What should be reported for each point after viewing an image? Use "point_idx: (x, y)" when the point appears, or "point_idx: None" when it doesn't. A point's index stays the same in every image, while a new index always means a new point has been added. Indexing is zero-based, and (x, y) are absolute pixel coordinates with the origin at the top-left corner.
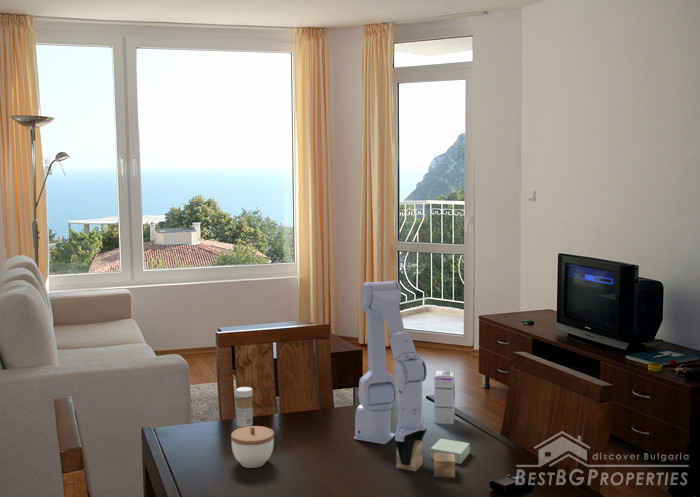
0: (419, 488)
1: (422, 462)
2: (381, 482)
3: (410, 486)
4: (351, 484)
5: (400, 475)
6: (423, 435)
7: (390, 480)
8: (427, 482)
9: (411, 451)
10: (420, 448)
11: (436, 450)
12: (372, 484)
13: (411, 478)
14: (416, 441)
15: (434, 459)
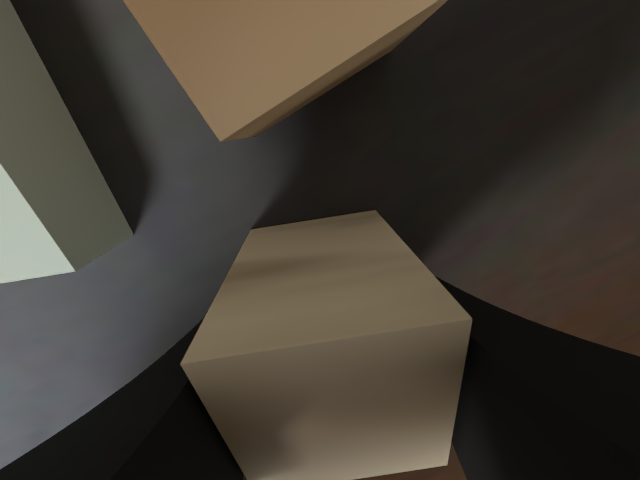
0: (634, 41)
1: (249, 233)
2: (574, 275)
3: (606, 119)
4: (613, 346)
5: (463, 247)
6: (68, 453)
7: (541, 255)
8: (516, 39)
9: (474, 312)
10: (279, 297)
11: (49, 217)
12: (603, 292)
13: (483, 177)
14: (260, 400)
15: (417, 5)
